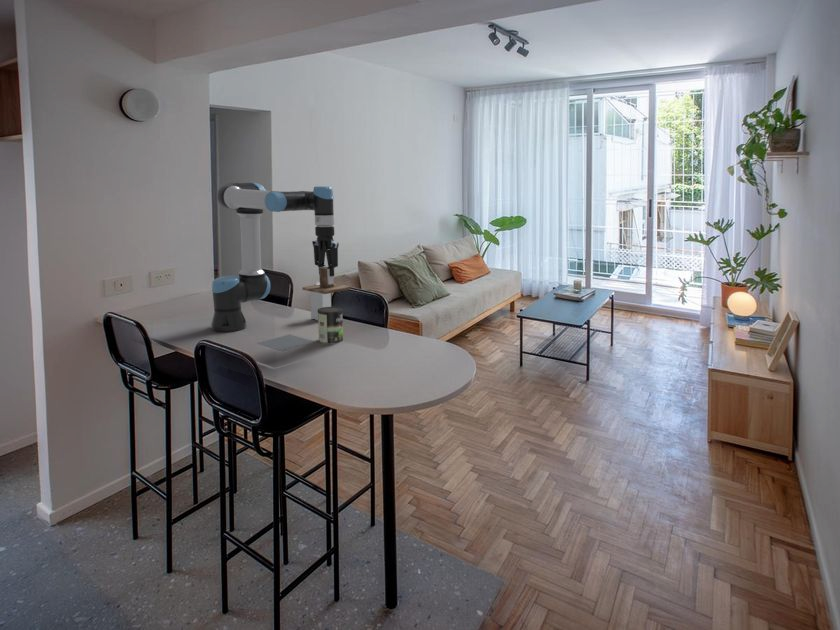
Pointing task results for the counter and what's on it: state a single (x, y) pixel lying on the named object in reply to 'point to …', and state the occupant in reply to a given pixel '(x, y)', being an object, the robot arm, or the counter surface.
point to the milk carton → (319, 302)
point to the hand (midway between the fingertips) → (326, 283)
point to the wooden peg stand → (325, 284)
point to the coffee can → (330, 325)
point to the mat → (286, 342)
